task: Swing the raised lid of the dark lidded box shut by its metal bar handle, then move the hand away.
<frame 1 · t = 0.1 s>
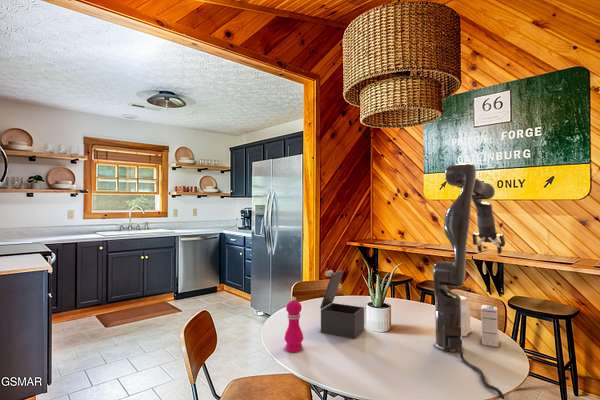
hand: (490, 252, 177), 31 cm above the table, tool tilted 20°, fingers open, 8 cm apart
lid: (328, 286, 157), point 19 cm above the table, hinge at 70.0°
pepper mill: (293, 349, 134), on the table
dark lidded box: (342, 330, 153), on the table
syrup box: (490, 344, 139), on the table
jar: (456, 331, 152), on the table
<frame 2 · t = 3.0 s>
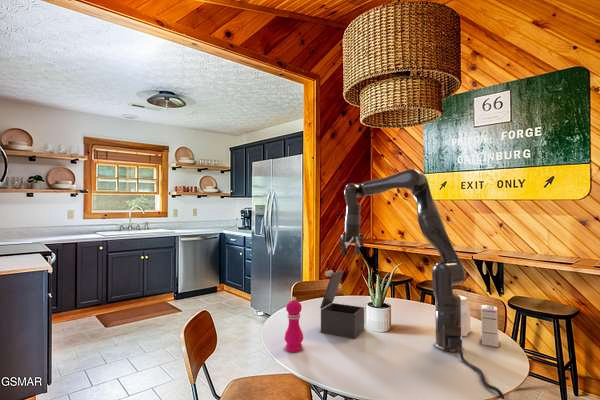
hand: (351, 254, 176), 31 cm above the table, tool pointing down, fingers open, 8 cm apart
nothing on the table moved.
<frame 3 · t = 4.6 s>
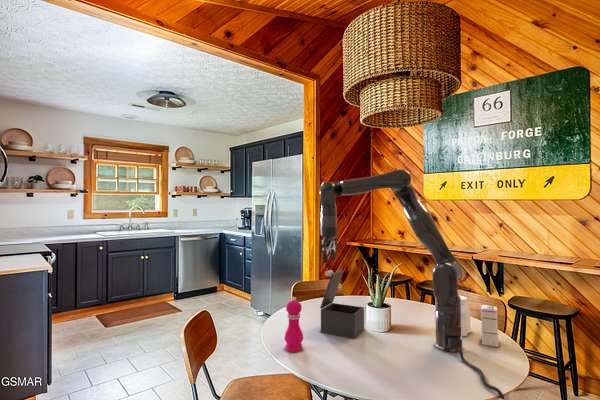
hand: (329, 261, 157), 30 cm above the table, tool pointing down, fingers open, 8 cm apart
nothing on the table moved.
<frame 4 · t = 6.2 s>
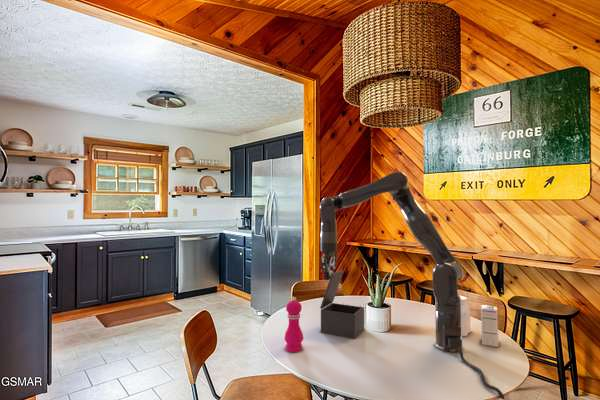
hand: (329, 278, 157), 22 cm above the table, tool pointing down, fingers closed on lid, 5 cm apart
lid: (328, 286, 157), point 19 cm above the table, hinge at 70.0°, touching gripper
everything else where it was.
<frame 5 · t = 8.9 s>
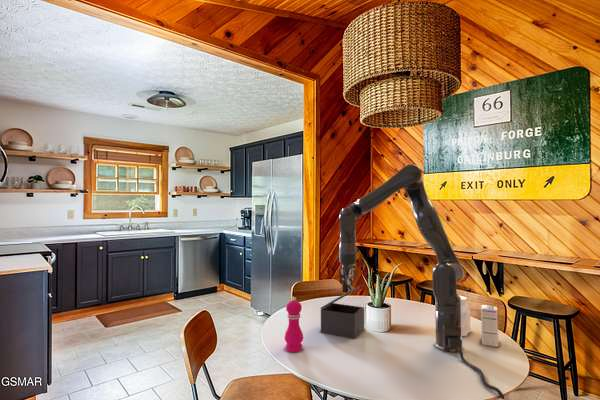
hand: (347, 290, 153), 18 cm above the table, tool pointing down, fingers closed on lid, 5 cm apart
lid: (338, 292, 155), point 17 cm above the table, hinge at 32.4°, touching gripper
everything else where it was.
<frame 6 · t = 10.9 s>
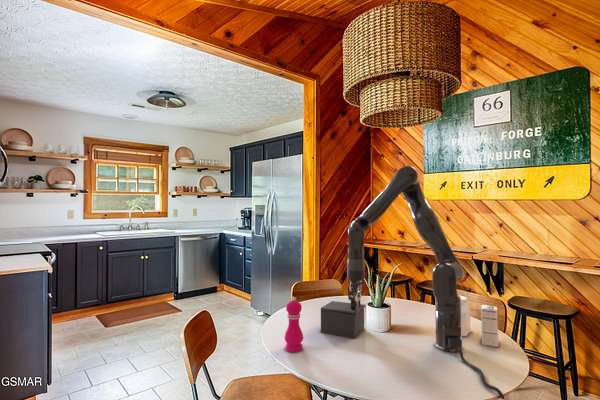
hand: (355, 307, 151), 11 cm above the table, tool pointing down, fingers closed on lid, 5 cm apart
lid: (343, 302, 154), point 13 cm above the table, hinge at 1.4°, touching gripper
everything else where it was.
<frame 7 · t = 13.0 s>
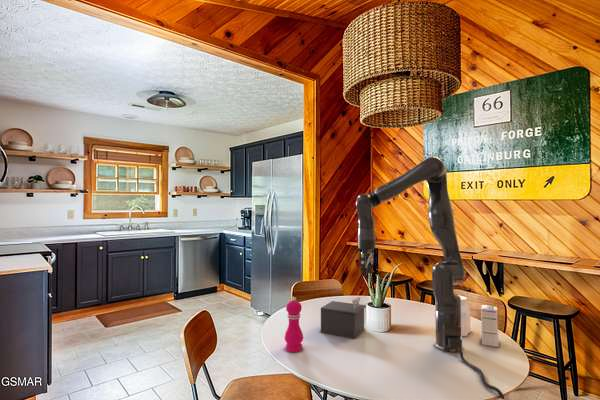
hand: (367, 274, 155), 25 cm above the table, tool pointing down, fingers open, 8 cm apart
lid: (343, 302, 154), point 13 cm above the table, hinge at 0.7°
everything else where it was.
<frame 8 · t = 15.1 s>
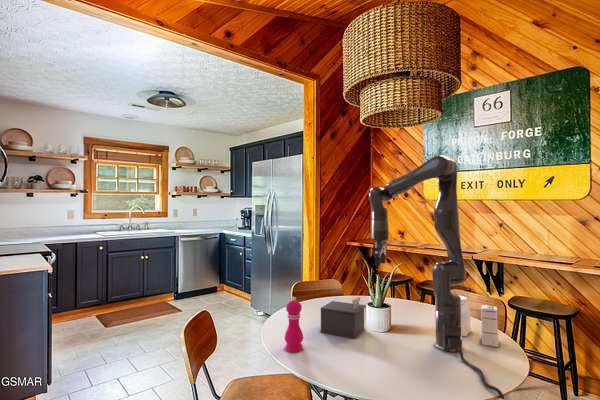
hand: (380, 264, 161), 28 cm above the table, tool pointing down, fingers open, 8 cm apart
nothing on the table moved.
at the end: lid at +1° (first picture: +70°); the gripper is holding nothing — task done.
